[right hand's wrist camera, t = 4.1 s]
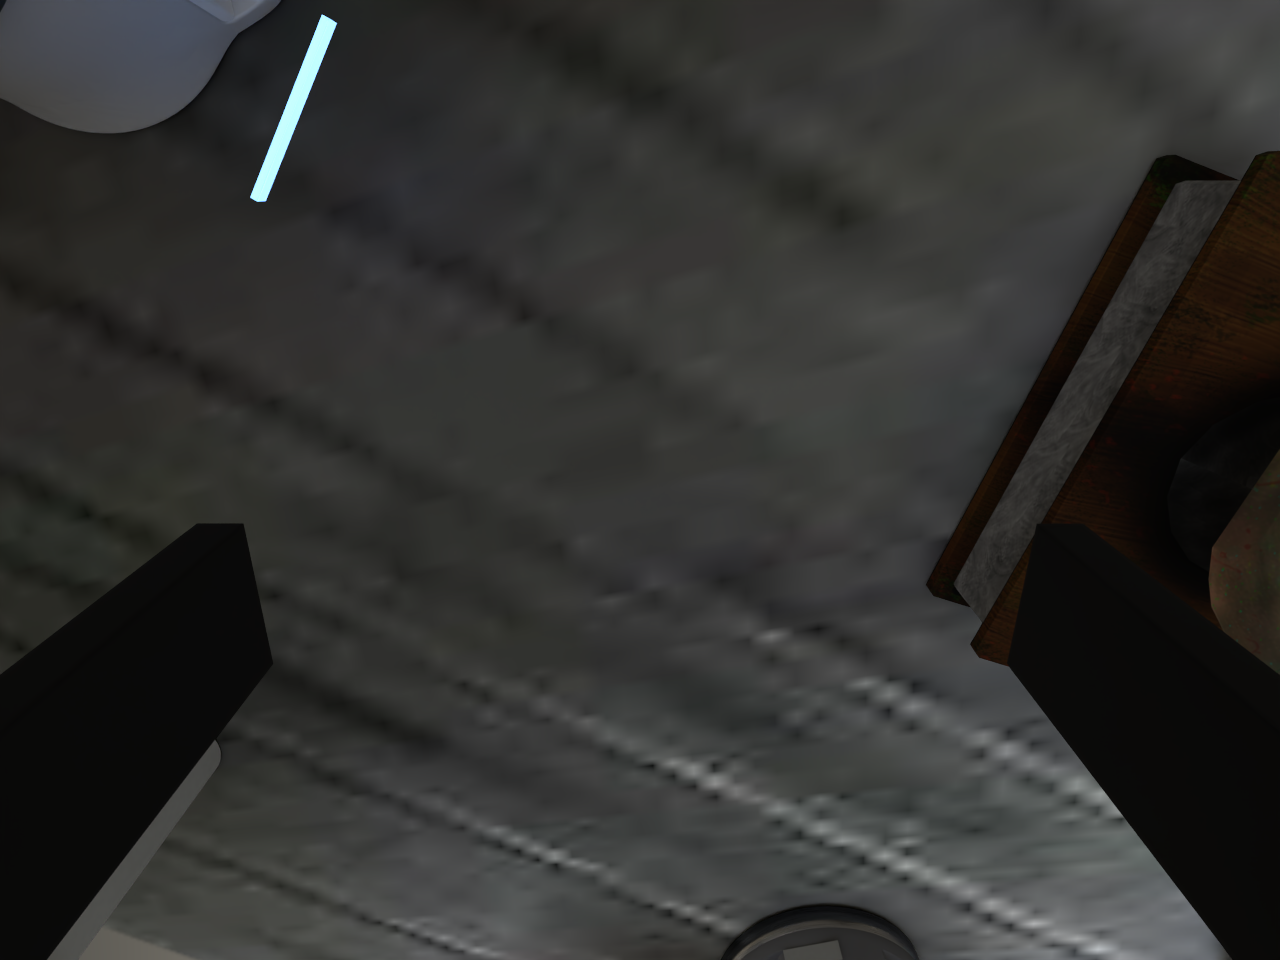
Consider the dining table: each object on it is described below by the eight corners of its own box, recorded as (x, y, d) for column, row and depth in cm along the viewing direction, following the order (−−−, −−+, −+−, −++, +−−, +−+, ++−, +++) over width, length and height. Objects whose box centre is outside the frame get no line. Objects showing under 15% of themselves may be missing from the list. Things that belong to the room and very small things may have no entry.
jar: (146, 763, 49) (-76, 1023, 34) (158, 712, 48) (-67, 961, 33) (213, 784, 50) (26, 1048, 35) (228, 735, 49) (39, 988, 33)
